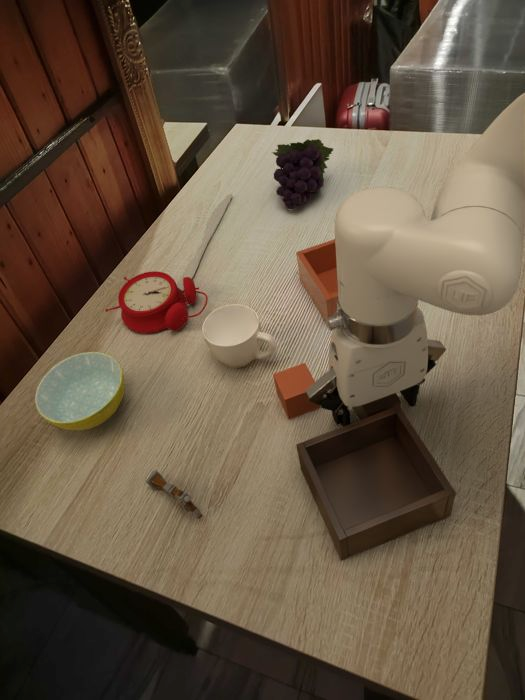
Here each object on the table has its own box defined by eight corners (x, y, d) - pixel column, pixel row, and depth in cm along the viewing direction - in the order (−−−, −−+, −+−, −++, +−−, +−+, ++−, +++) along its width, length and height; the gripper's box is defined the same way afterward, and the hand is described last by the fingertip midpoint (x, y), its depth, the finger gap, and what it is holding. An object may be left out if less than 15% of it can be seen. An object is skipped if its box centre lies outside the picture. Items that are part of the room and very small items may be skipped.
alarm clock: (124, 268, 87) (202, 256, 81) (144, 295, 91) (219, 286, 85) (96, 315, 81) (178, 307, 75) (119, 341, 85) (199, 336, 79)
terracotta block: (307, 383, 72) (304, 362, 68) (320, 407, 69) (318, 387, 65) (277, 394, 71) (272, 374, 68) (288, 419, 68) (284, 399, 65)
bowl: (139, 435, 70) (122, 408, 65) (53, 457, 70) (30, 432, 65) (135, 370, 78) (120, 342, 73) (57, 390, 77) (38, 363, 73)
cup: (226, 332, 80) (216, 299, 75) (288, 344, 76) (283, 311, 71) (204, 371, 75) (192, 339, 70) (269, 386, 72) (262, 354, 67)
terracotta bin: (372, 254, 86) (372, 226, 82) (407, 299, 79) (410, 270, 75) (299, 279, 85) (296, 251, 81) (328, 327, 77) (326, 299, 73)
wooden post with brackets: (200, 526, 60) (179, 501, 57) (164, 503, 66) (144, 479, 64) (211, 514, 60) (190, 488, 58) (174, 492, 66) (155, 468, 64)
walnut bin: (397, 431, 65) (399, 404, 61) (449, 516, 57) (456, 492, 53) (300, 468, 63) (295, 444, 59) (341, 560, 56) (339, 540, 52)
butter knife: (168, 288, 87) (185, 289, 86) (221, 194, 104) (236, 194, 103) (169, 291, 88) (186, 292, 87) (222, 197, 104) (236, 196, 103)
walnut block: (383, 395, 68) (384, 374, 65) (400, 422, 66) (401, 401, 62) (351, 407, 68) (350, 387, 65) (367, 434, 65) (367, 414, 62)
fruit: (278, 225, 100) (289, 164, 106) (333, 218, 96) (341, 156, 102) (258, 187, 92) (271, 124, 98) (318, 178, 88) (327, 113, 94)
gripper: (310, 367, 50) (321, 460, 63) (478, 305, 51) (455, 408, 64) (282, 314, 54) (298, 411, 68) (436, 260, 56) (423, 365, 69)
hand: (375, 409), depth 66 cm, fingers open, 8 cm apart
